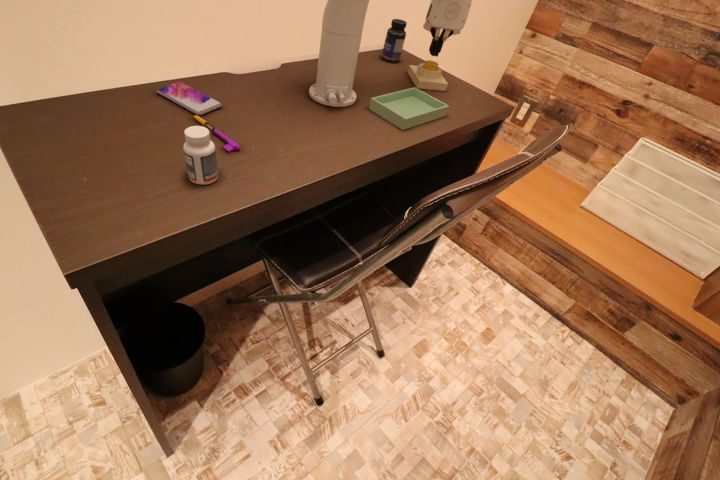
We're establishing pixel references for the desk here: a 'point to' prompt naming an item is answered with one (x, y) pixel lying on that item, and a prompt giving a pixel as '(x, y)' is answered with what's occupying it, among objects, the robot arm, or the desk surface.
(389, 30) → the pill bottle
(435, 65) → the button
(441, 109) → the tray
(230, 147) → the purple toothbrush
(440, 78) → the box
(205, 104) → the smartphone
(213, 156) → the pill bottle
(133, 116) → the desk surface
